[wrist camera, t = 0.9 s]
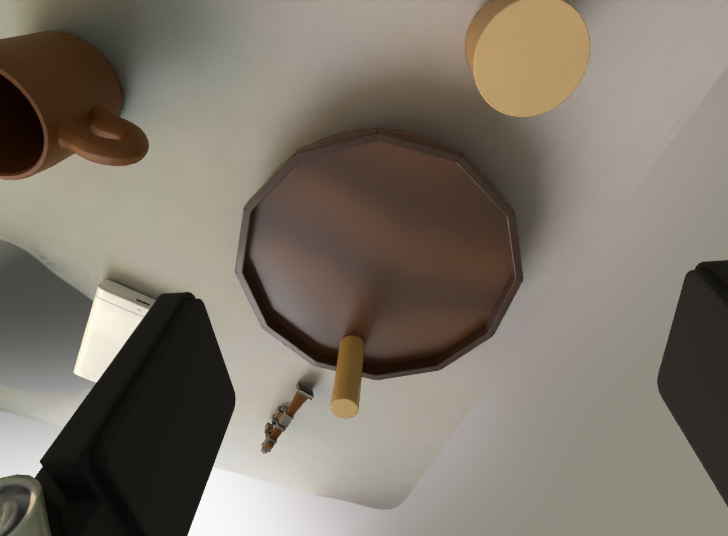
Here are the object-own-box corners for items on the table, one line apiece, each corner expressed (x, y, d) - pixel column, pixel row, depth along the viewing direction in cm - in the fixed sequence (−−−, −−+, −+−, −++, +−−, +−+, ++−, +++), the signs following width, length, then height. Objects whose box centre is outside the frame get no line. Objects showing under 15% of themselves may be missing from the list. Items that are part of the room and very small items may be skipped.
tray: (266, 91, 34) (230, 126, 27) (563, 174, 36) (605, 228, 28) (231, 329, 45) (200, 398, 38) (457, 382, 47) (467, 458, 40)
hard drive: (149, 403, 52) (182, 324, 46) (71, 373, 50) (95, 287, 44) (155, 391, 53) (189, 313, 47) (80, 362, 51) (104, 277, 45)
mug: (191, 72, 35) (130, 105, 27) (179, 167, 39) (123, 220, 31) (19, 12, 34) (-99, 28, 26) (24, 117, 38) (-76, 160, 30)
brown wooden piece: (255, 429, 54) (255, 453, 50) (296, 371, 53) (299, 390, 49) (269, 436, 54) (270, 461, 50) (310, 379, 54) (314, 398, 49)
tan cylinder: (481, -24, 31) (500, -20, 25) (572, 4, 31) (612, 15, 26) (447, 76, 34) (457, 100, 28) (531, 100, 35) (557, 129, 29)
